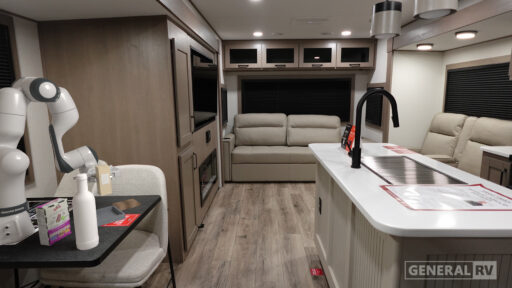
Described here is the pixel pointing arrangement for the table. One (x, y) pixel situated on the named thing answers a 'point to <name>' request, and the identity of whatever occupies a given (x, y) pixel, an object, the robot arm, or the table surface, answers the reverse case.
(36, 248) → the table surface
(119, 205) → the walnut board
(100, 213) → the parts bin
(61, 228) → the candy bar box
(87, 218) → the bottle
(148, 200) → the table surface
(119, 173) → the robot arm
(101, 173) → the parts box
